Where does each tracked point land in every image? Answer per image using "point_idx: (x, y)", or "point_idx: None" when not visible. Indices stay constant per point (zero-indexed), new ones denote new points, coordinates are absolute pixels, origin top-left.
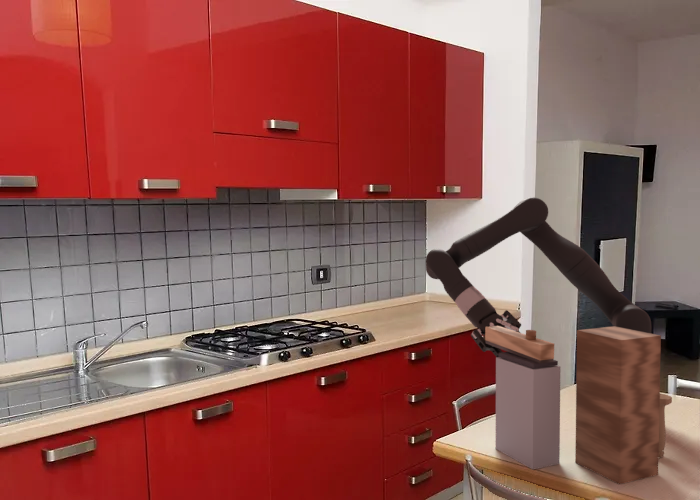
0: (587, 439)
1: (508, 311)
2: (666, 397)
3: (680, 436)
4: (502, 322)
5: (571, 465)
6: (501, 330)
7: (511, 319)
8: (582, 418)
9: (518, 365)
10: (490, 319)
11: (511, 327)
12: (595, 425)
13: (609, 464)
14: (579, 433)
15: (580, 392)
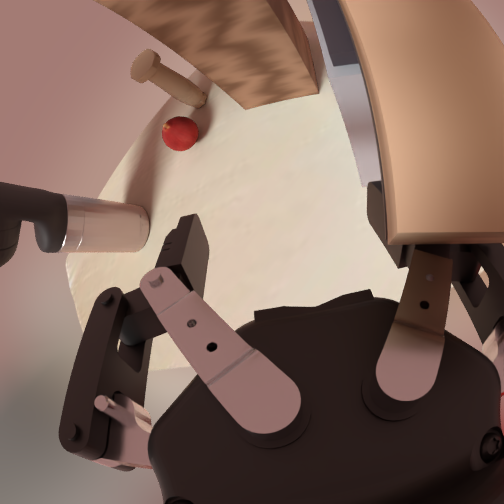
0: (302, 48)
1: (60, 426)
2: (140, 57)
3: (134, 156)
4: (219, 361)
5: (331, 87)
6: (453, 16)
7: (106, 360)
8: (292, 35)
9: None
10: (336, 477)
11: (175, 301)
12: (289, 19)
13: (303, 35)
14: (303, 58)
15: (272, 5)
